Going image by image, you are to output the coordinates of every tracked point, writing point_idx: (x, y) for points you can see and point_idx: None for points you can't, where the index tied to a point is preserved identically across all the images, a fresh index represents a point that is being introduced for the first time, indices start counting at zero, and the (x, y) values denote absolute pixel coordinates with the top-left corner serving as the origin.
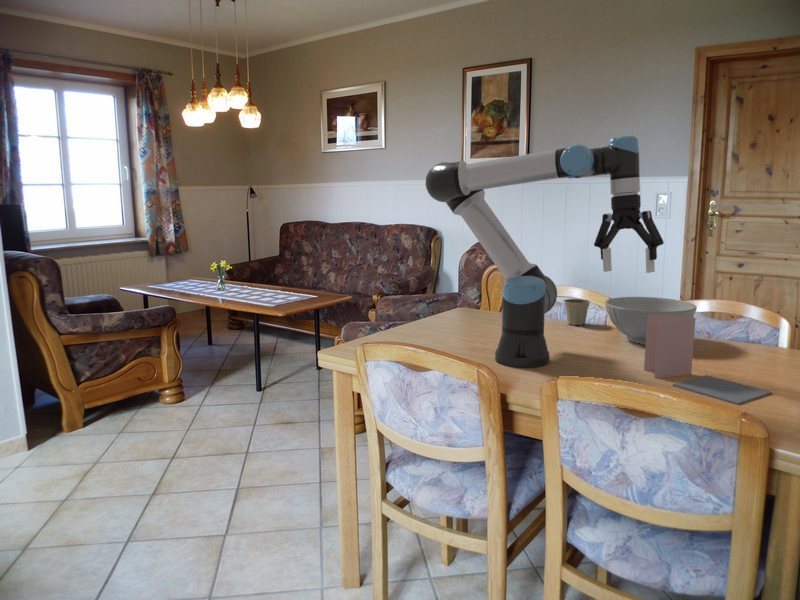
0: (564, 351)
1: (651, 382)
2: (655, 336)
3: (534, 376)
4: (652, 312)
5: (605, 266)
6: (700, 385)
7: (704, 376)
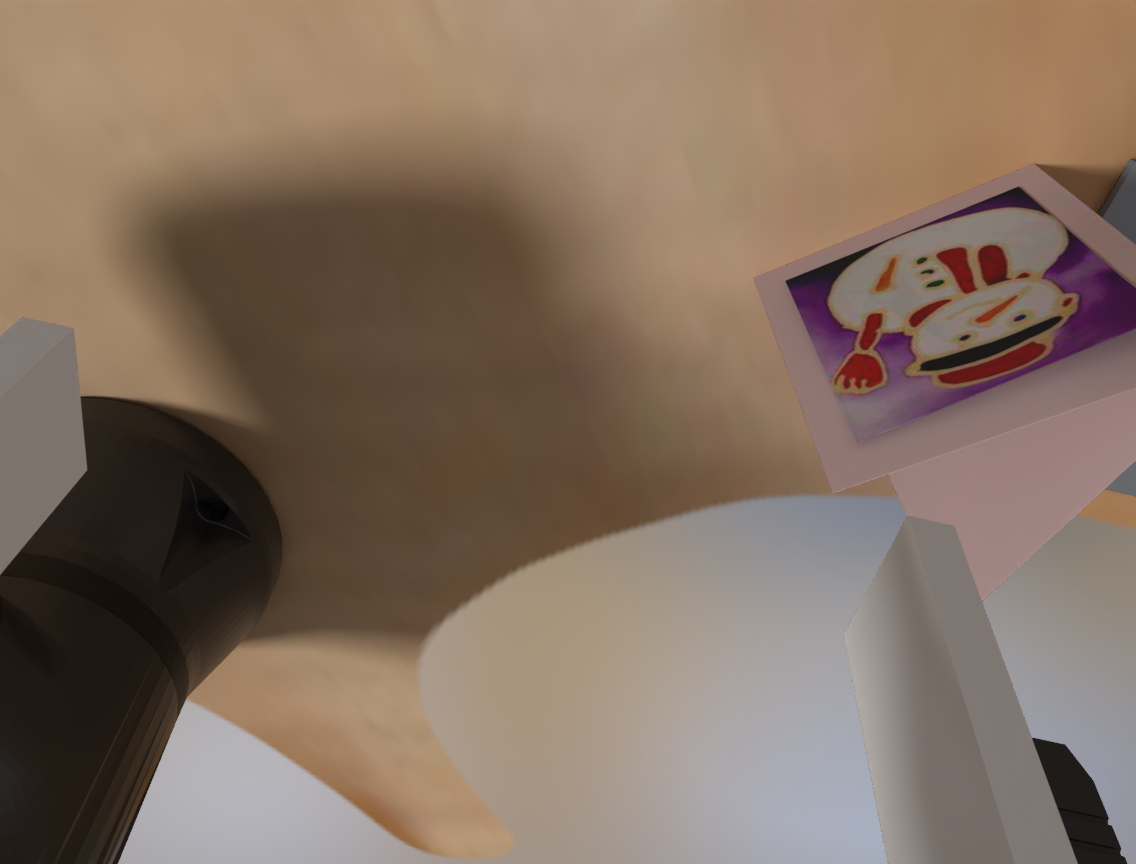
0: (119, 184)
1: None
2: (863, 370)
3: (368, 683)
4: None
5: (37, 529)
6: None
7: (1122, 204)
